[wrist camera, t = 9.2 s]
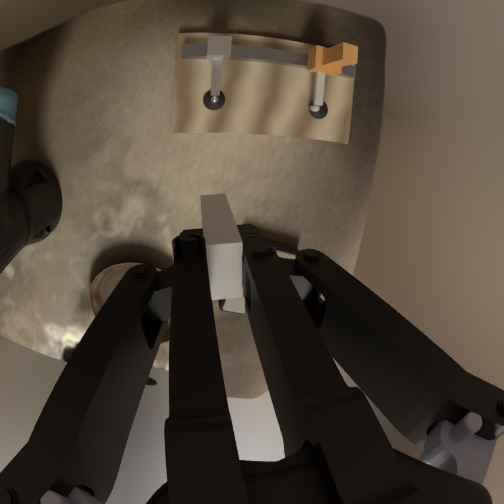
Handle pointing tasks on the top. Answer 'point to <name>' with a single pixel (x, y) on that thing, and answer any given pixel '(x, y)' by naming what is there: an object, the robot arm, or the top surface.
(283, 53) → the rail
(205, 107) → the hole plate
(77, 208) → the top surface
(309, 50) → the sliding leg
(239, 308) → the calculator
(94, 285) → the plant saucer
